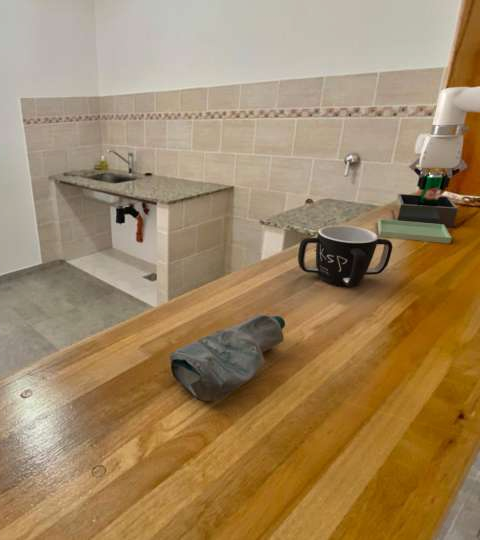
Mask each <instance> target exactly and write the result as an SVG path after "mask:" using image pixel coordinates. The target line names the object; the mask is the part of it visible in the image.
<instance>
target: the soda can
mask: <svg viewBox="0 0 480 540" xmlns="http://www.w3.org/2000/svg"><path fill="white" fill-rule="evenodd" d="M444 177H445V173H444V172H442V171H427V172H426V173H425V181H424V186H423V189H422V190H420V194H419V195H420V198H419V203H418V205H423V206H437V204H438V200H439V196H441V192H442V190H441V189H442V185H443V181H444Z"/></svg>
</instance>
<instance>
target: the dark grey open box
mask: <svg viewBox="0 0 480 540" xmlns="http://www.w3.org/2000/svg"><path fill="white" fill-rule="evenodd" d="M419 198H420V194H411V193H409V194H407V193H406V194H405V193H397V195H396V200H395V204H394V208H393V215H394V220H396V221H408V222H420V223H432V224H444V225H445V227H446V228H450V229H452V228H453V226H454V223H455V220H456V216H457V213H458V210H459V208H458V206H457V205H456V203H455V202H454V201H453V199H452V198H451V197H450V196H444V195H440V196H439V200H438V204H437V206H423V205H418V203H419Z"/></svg>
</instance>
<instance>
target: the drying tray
mask: <svg viewBox="0 0 480 540" xmlns="http://www.w3.org/2000/svg"><path fill="white" fill-rule="evenodd" d="M377 228H378V229H377V230H378V237H382V238H383V237H384V238H394V239H401V240H402V239H403V240H411V241H422V242H431V243H441V244H451V242H452V236H451V234H450V232H449V230H448V229H447V228H448V227H445V225H444V224H432V223H420V222H408V221H396V219H382V218H379V219H378V222H377Z"/></svg>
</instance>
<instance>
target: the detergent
mask: <svg viewBox="0 0 480 540" xmlns="http://www.w3.org/2000/svg"><path fill="white" fill-rule="evenodd" d="M285 326H286V322H285V320H284V318H283V317H282V316H279V315H275V316H274V315H273V316H270V315H268V314H265V313H264V314H263V313H259V314H255V315H252V316H251V317H249V318H247V319H245V320H244V321H242V322H240V323H238V324H236V325H233V326H231V327H228V328H222V329H218V330H216V331H214V332H212V333H210V334H209V335H205V336H203V337H201V338H199V339H198V340H196V341H193V342H191V343H188V344H186V345H184V346H182V347H180V348H178V349H176V350H174V351H172V353H171V354H170V355H169V362H170V363H169V364H170V369H171V373H172V376H173V377H174V378H175V379H176V380H177V382H179V383H180V385H181V386H183V387H184V388H185V389H186V390H187V391H188V392H189V393H190V394H191V395H192V396H194V397H195V398H197V399H199V400H201V401H216V400H219V399H221V398H222V397H224V396H226V395H227V394H229V393H231V392H232V391H234V390H235V389H237V388H238V387H240V386H242V385H243V384H246V383H247V382H248V381H250V380H252V378H254V377H255V375H256V374H257V373H258V371H259V370H260V369H261V368H262V366H264V364H265V358H264V355H263V353H264V352H266V351H267V350H269V349H271V348H274V347H276V346H277V345H279V344H281V343H282V342H284V340H285V336H284V332H283V329H284V328H285Z"/></svg>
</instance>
